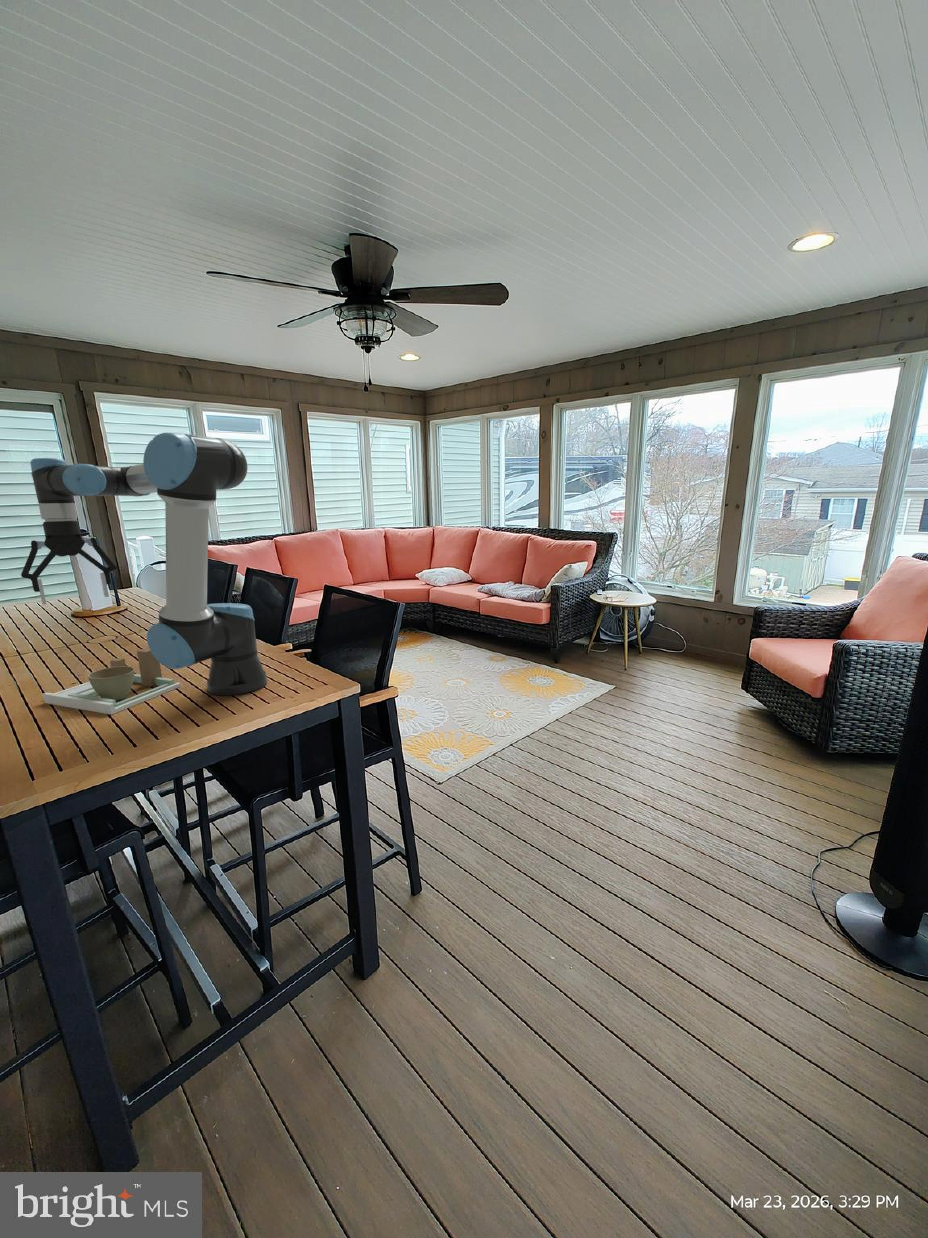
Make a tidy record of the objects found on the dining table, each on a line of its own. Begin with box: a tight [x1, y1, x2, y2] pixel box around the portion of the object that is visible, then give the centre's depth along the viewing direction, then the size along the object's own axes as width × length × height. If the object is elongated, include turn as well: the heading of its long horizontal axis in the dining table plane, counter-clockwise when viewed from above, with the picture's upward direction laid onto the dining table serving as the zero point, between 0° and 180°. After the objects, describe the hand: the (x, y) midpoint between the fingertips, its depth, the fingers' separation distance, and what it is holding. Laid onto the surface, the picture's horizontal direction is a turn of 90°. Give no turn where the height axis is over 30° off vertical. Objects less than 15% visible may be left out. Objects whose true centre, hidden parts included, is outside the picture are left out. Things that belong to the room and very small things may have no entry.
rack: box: [42, 681, 182, 715], centre depth 134 cm, size 26×20×2 cm
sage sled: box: [68, 647, 175, 707], centre depth 134 cm, size 15×19×10 cm
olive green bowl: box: [87, 665, 136, 702], centre depth 131 cm, size 10×10×7 cm
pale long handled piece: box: [59, 657, 127, 696], centre depth 138 cm, size 4×19×6 cm, turn 161°
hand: (76, 600), depth 137 cm, fingers open, 13 cm apart
